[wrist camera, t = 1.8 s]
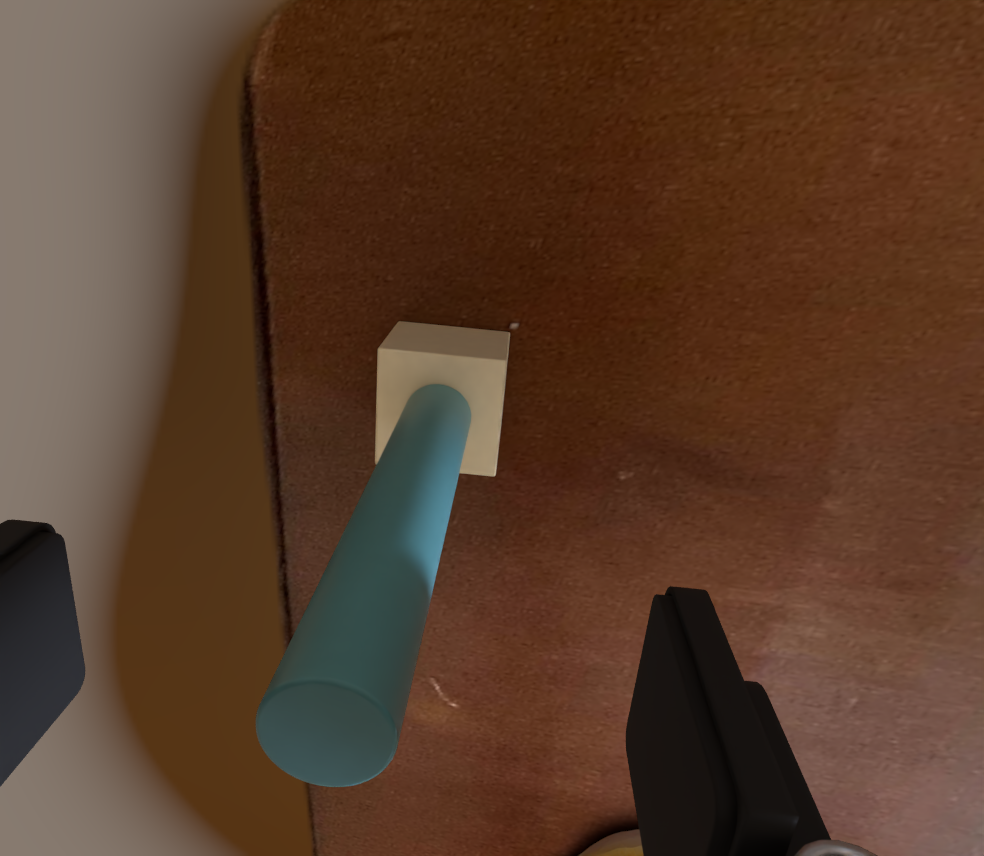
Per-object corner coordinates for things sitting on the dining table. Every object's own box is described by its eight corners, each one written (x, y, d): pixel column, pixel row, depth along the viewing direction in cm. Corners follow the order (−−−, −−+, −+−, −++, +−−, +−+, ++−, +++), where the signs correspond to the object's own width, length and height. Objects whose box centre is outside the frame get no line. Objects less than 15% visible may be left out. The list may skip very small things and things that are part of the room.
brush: (398, 320, 21) (177, 611, 8) (510, 331, 21) (471, 641, 8) (394, 424, 22) (201, 818, 9) (500, 435, 22) (452, 846, 9)
